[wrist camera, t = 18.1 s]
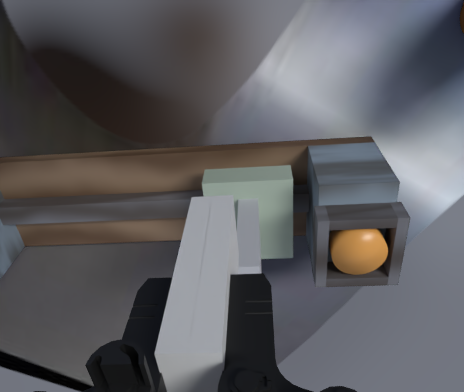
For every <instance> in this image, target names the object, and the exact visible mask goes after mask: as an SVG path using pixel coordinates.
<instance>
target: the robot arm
mask: <svg viewBox="0 0 464 392" xmlns="http://www.w3.org/2000/svg"><path fill="white" fill-rule="evenodd" d="M238 264H239V250H238V240H237V230H236V220H235V209H234V199H233V195H223V196H204V197H192V198H191V202H190V206H189V210H188V214H187V219H186V223H185V227H184V231H183V236H182V240H181V244H180V248H179V252H178V257H177V261H176V265H175V269H174V273H173V278H148V279H147V281H146V282H145V283H144V284H143V285H142V287H141V288H140V289H139V290H138V292H137V295H136V298H135V301H134V304H133V308H132V310H131V313H130V316H129V319H128V322H127V325H126V328H125V331H124V334H123V337H122V340H117V341H111V342H109V343H107V344H105V345H103V346H101V347H100V348H99V349H98V350H96V351H95V352H94V353H93V354H92V355H91V356H90V358H89V360H88V361H87V363H86V368H87V370H88V372H89V375H90V377H91V379H92V381H93V384H94V386H93V387H92V388H90V389H88V390H85V391H83V392H312V391H309V390H306V389H302V388H300V387H298V386H296V385H293V384H292V383H290V382H289V381H288V380H286V379H285V378H284V376H283V375H282V374H281V373H280V371H279V369H278V367H277V365H276V360H275V346H274V329H273V311H272V294H271V285H270V283H269V281H268V280H267V278H266V277H265V275H264V274H263V273H259V274H238ZM35 392H44V391H35ZM320 392H357V391H355V390H353V389H350V388H346V387H343V386H335V387H329V388H326V389H324V390H322V391H320Z"/></svg>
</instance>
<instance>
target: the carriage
mask: <svg viewBox="0 0 464 392" xmlns="http://www.w3.org/2000/svg"><path fill="white" fill-rule="evenodd" d="M202 189H203V196H223V195H233V199H234V209H235V220H236V230H237V240H238V250H239V264H238V274H259V273H262V272H261V259H279V258H293V176H292V171H291V165H283V166H264V167H245V168H225V169H206V170H205V171H204V176H203V180H202Z"/></svg>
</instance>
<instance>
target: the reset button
mask: <svg viewBox="0 0 464 392" xmlns="http://www.w3.org/2000/svg"><path fill="white" fill-rule="evenodd" d="M328 245H329V249H330V253H331V257H332V260H333V263H334V265H335V266H336V267H337V268H338V269H339V270H340V271H342V272H344V273H347V274H353V275H360V274H366V273H369V272H372V271H374V270H375V269H377V268H378V267H380V266H381V265H382V264H383V263H384V261H385V260H386V258H387V255H388V247H387V244H386V242H385V240H384V238H383V235H382V233H381V231H380V229H379V228H378V229H352V230H332V231H331V232H330V235H329V241H328Z"/></svg>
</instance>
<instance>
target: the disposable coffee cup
mask: <svg viewBox="0 0 464 392" xmlns="http://www.w3.org/2000/svg"><path fill="white" fill-rule="evenodd" d="M460 26H461V29H462V32H463V33H464V3H463V6H462V9H461V13H460Z"/></svg>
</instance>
